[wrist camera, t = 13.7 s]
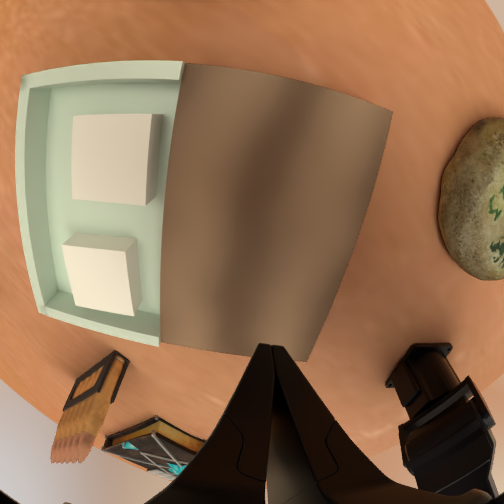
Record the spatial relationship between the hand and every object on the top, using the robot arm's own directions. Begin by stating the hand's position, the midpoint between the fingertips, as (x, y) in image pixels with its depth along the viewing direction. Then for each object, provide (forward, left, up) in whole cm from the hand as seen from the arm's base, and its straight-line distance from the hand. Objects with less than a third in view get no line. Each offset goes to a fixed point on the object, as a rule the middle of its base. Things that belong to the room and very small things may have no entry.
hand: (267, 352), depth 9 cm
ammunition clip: (+14, +19, -11) cm, 25 cm away
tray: (+11, 0, -10) cm, 15 cm away
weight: (-18, -7, -11) cm, 23 cm away
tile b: (+9, -4, -10) cm, 14 cm away
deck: (0, 0, -10) cm, 10 cm away
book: (+4, +38, -11) cm, 40 cm away
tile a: (+10, +4, -10) cm, 15 cm away
